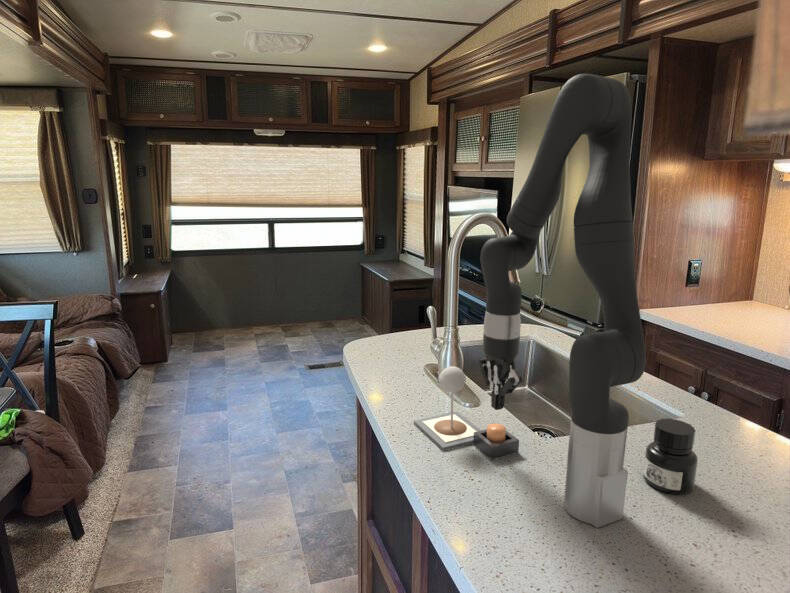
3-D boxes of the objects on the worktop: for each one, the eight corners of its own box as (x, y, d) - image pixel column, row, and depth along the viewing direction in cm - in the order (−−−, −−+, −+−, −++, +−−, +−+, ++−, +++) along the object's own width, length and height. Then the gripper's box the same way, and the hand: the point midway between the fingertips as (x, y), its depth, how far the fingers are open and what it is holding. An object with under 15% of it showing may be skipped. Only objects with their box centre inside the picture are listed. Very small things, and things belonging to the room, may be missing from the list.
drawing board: (488, 439, 121) (489, 435, 121) (442, 450, 116) (442, 446, 116) (456, 414, 134) (456, 410, 133) (413, 423, 129) (413, 419, 128)
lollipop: (443, 435, 121) (444, 373, 117) (434, 423, 126) (435, 364, 123) (469, 431, 122) (470, 370, 119) (459, 420, 128) (460, 361, 124)
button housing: (518, 452, 116) (519, 440, 115) (491, 459, 113) (492, 446, 112) (499, 438, 122) (499, 426, 121) (473, 444, 119) (473, 432, 118)
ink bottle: (631, 474, 107) (637, 419, 105) (664, 465, 111) (671, 412, 108) (671, 501, 99) (679, 442, 96) (706, 491, 102) (714, 434, 99)
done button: (508, 442, 116) (509, 429, 115) (493, 446, 114) (494, 433, 113) (498, 434, 119) (498, 422, 119) (483, 438, 118) (483, 425, 117)
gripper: (536, 339, 107) (530, 418, 111) (498, 321, 118) (494, 393, 123) (505, 344, 104) (500, 425, 108) (469, 325, 115) (466, 398, 120)
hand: (497, 407), depth 115 cm, fingers closed
